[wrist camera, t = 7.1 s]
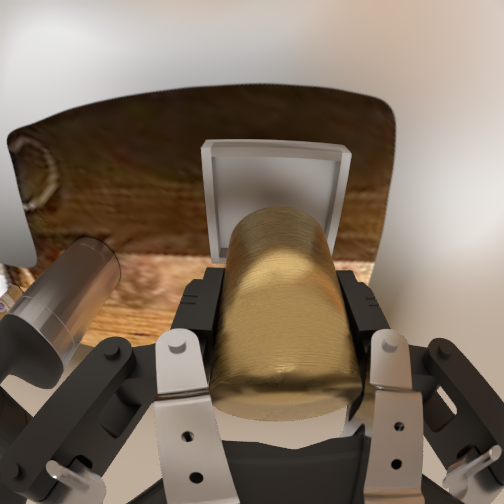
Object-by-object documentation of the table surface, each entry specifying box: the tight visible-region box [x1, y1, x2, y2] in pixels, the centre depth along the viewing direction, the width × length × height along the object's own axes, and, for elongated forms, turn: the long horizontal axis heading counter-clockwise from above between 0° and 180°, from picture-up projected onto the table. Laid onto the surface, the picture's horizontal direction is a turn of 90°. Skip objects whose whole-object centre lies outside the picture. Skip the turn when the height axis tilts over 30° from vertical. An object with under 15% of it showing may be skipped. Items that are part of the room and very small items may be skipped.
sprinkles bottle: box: [0, 284, 23, 320], centre depth 34 cm, size 5×5×13 cm
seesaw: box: [201, 139, 351, 264], centre depth 26 cm, size 33×9×4 cm, turn 179°
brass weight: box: [209, 206, 362, 421], centre depth 10 cm, size 4×4×7 cm
